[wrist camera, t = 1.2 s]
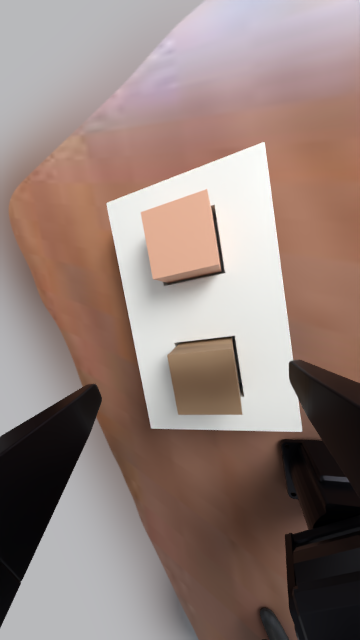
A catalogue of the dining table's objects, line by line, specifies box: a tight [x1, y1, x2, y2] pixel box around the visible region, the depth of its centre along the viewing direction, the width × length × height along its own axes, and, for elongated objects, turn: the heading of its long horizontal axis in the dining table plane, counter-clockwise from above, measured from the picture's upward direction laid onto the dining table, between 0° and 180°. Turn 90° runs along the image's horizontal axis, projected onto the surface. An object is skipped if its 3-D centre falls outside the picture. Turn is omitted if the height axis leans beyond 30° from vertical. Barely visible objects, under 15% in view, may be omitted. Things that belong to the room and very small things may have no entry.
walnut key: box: [167, 337, 242, 415], centre depth 16 cm, size 5×5×4 cm
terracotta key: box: [141, 189, 222, 283], centre depth 15 cm, size 5×5×4 cm
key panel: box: [106, 142, 302, 432], centre depth 18 cm, size 23×14×4 cm, turn 10°
